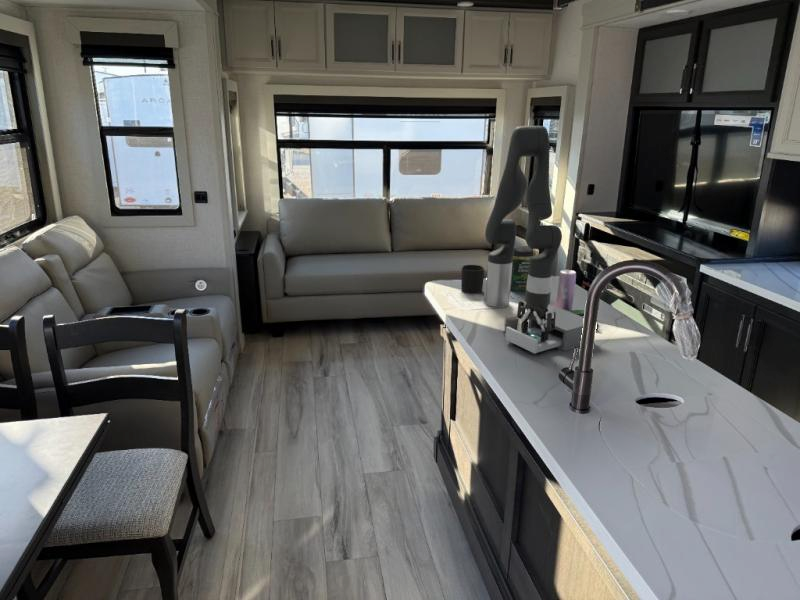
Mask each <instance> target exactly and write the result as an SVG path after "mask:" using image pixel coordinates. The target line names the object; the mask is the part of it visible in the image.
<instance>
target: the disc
mask: <svg viewBox="0 0 800 600" xmlns="http://www.w3.org/2000/svg"><path fill="white" fill-rule="evenodd" d="M525 334H526V335H528V336H530V337H532V338H534V339H536V340H538V344H539V343H542V342H541V341H540V340H541V333H537V332H527V333H525Z"/></svg>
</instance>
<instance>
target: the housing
mask: <svg viewBox="0 0 800 600" xmlns="http://www.w3.org/2000/svg"><path fill="white" fill-rule="evenodd" d="M548 311H549V312H555V313H556V318H555V330H552V331H549V334H552V335H554V336H556V337H558V338H561V339H563V341H562V345H561V346H558V347H555V348H557V349H559V350H561V351H563V352H565V351H569V350H572V348H573V347H576V348H578V346H579V347H581V346H580V341H581V335H582V328H583V318H584V317H581V316H579V315H576V314H573V313H571V312H568V311H566V310H563V309H561V308H556V307H555V308H551V309H548ZM541 321H544V319H543V320H541ZM544 326H545V324H544ZM533 327H536V328H538V329H540V330H542V329H541V326H540V325H539V324H538V322H537V321H535V320H534V319H529V320H528V329H529V328H533ZM545 327H546V326H545ZM573 349H574V348H573Z"/></svg>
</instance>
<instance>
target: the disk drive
mask: <svg viewBox="0 0 800 600" xmlns="http://www.w3.org/2000/svg"><path fill="white" fill-rule="evenodd" d="M566 311H568V312H571V313H573V314H576V315H579V316H581V317H583V316H584V310H583V309H580V310H579V309H575V310H574V309H572V310H566ZM596 331H597V332H598V331H599V323H598V322H597V329H596ZM596 331H595V332H596Z"/></svg>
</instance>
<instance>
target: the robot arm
mask: <svg viewBox="0 0 800 600" xmlns="http://www.w3.org/2000/svg"><path fill="white" fill-rule="evenodd" d="M525 157H536V158H537V162H536V163H537V165H536V169H535V172H534V174H533V176H532V178H531V180H530V182H529V184H528V181H527V179H526V175H525V174H524V171H523V170H522V168H521V164H520V159H521V158H525ZM525 196H526V203H527V212H528V215H527V216H528V218H527V227H526V230H525V231H526V232H525V243H526V246H529V247H530V248H532V249H533V250H542V249H543V251H542V252H541V253H539V254H535V255H534V256H532V257H531V258H530V262H529V272H528V278H527V286H526V290H525V296H524V297H525V298H524V300H520V301H518V306H517V310H516V311H517V313H516V318H518V320H520V322H521V324H520V331H521V332H522V333H527V332H528V326H529V319H534V320H535V321H537V322H538V324H539V325H540V326H541V329H542V331H541V340H540V341H541V342H546V341H547V340H548V335H549V331H552V330H555V318H556V313H555V312H549V311H548V310H549V309H548V307H549V305H550V302H551V296H552V295H551V294H552V274H553V265H554V261H555V258H556V256H557V253H558V251H559V249H560V246H561V243H562V240H563V239H562V238H563V233H562V230H561V229H560V227H559V226H557V225H555V224H551V225H550V224H548V225H547V224H546V225H543V224H542V225H539V222H540V221H544V220H547V219H549V218H550V217H551V216H552V215H553V207H552V200H551V199H552V198H551V191H550V136H549V132H548V129H547V127H545V126H543V125H521V126H517V127H515V128H514V129H513V131H512V132H511V136H510V141H509V146H508V151H507V156H506V161H505V167H504V169H503V173H502V176H501V179H500V183H499V186H498V188H497V193H496V196H495V201H494V205H493V208H492V210H491V214H490V215H489V218H488V221H487V223H486V225H485V226H486V227H485V233H484V234H485V235H484V236H485V240H486V242H487V243H488V244H492V245H502V246H500V247H499V248H497V249H496V250H492V251H490V252H489V253H488V255H487V269H486V270H487V271H486V277H485V279H484V289H483V290H484V292H483V302H484V303H485V304H486V305H487V306H489V307H493V308H506V307H508V306H509V305H510V297H511V289H510V287H511V274H512V261H513V254H514V246H516V245H515V243H516V237H517V224H516V222H515V220H514V219H512V218H511V219H510V218H506V217H507V216H508V215H510V214H512V212H514V211H515V210H516V209H517V208H518V207H519V206H520V205H521V204H522V203H523V201H524V199H525ZM543 319H544V321H541V320H543ZM544 324H545V326H546V327H545V326H544Z"/></svg>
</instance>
